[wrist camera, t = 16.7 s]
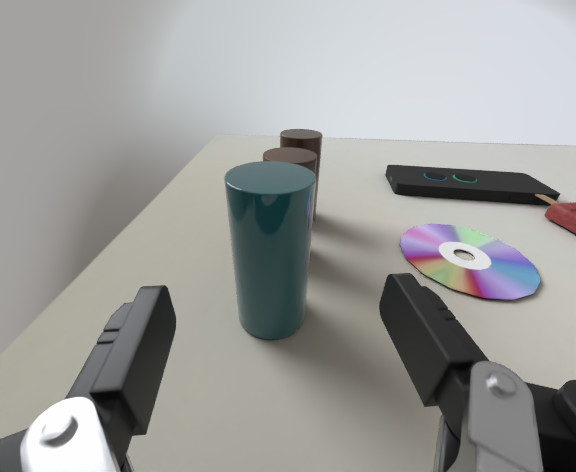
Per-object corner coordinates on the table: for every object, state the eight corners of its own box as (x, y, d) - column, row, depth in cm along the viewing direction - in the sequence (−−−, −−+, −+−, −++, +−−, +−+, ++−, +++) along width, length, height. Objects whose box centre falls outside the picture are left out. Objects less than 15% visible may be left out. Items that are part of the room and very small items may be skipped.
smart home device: (386, 163, 43) (524, 171, 41) (384, 173, 44) (519, 182, 42) (397, 183, 36) (564, 194, 34) (394, 195, 37) (556, 207, 35)
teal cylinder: (229, 334, 18) (209, 188, 12) (249, 285, 22) (240, 158, 16) (300, 345, 17) (311, 198, 12) (307, 293, 21) (319, 164, 16)
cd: (382, 225, 30) (382, 225, 30) (480, 223, 31) (480, 222, 30) (438, 303, 20) (439, 302, 20) (578, 296, 21) (578, 296, 21)
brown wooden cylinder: (260, 263, 24) (256, 160, 19) (270, 238, 27) (269, 145, 22) (306, 269, 23) (314, 165, 19) (311, 243, 27) (318, 149, 22)
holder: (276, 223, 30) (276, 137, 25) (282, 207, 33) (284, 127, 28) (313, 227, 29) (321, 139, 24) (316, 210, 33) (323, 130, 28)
